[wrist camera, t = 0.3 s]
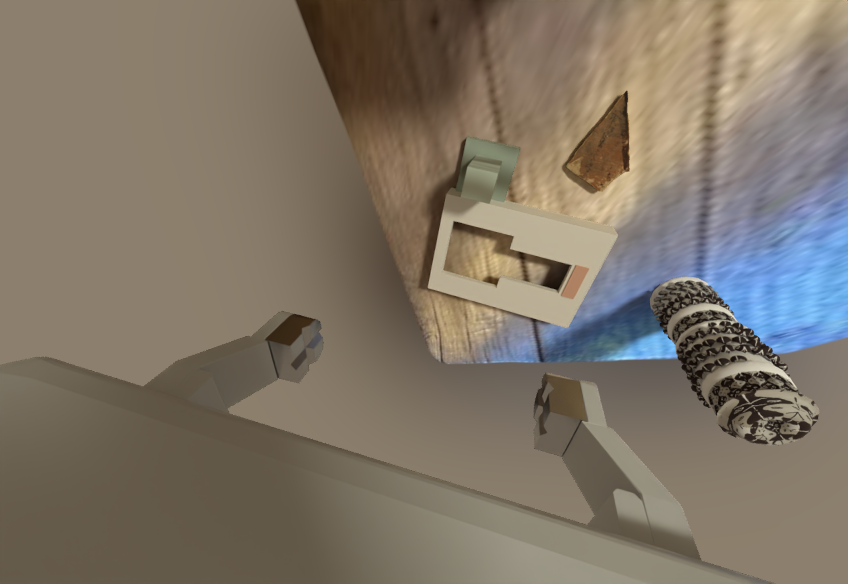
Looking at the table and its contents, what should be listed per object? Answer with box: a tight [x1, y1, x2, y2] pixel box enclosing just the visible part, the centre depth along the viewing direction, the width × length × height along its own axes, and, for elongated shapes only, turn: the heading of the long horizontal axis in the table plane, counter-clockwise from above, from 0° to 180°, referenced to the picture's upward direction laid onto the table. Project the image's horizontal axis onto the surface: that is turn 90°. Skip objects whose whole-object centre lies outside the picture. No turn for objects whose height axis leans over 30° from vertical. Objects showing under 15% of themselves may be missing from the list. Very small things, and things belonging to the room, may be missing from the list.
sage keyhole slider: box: [456, 136, 520, 204], centre depth 46 cm, size 8×8×10 cm
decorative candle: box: [650, 276, 819, 445], centre depth 43 cm, size 9×9×25 cm
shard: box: [566, 91, 630, 191], centre depth 44 cm, size 11×8×2 cm
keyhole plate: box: [428, 187, 618, 328], centre depth 55 cm, size 18×26×4 cm
